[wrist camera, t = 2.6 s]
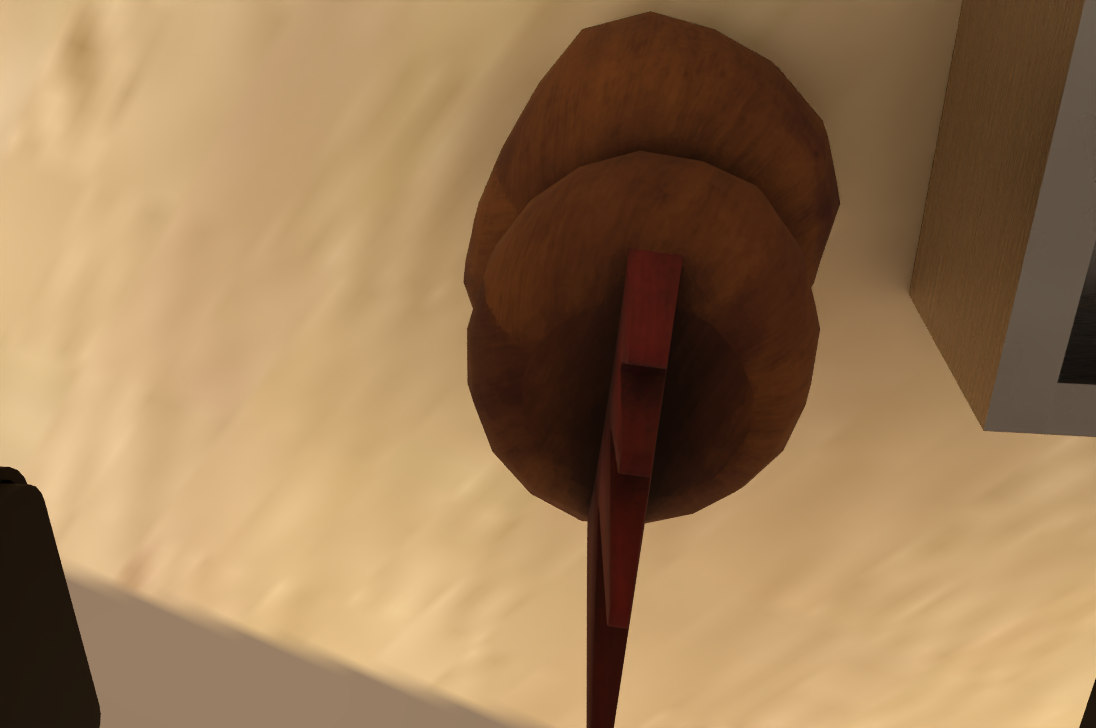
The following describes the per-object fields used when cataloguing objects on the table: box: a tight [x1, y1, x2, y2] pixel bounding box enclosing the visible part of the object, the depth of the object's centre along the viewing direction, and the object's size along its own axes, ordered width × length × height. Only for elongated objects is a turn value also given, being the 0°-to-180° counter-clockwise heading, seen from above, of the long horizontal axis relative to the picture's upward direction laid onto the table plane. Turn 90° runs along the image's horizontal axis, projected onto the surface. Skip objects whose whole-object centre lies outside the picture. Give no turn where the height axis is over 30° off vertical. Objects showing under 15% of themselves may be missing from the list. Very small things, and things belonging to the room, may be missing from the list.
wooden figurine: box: [464, 12, 840, 728], centre depth 15 cm, size 7×6×15 cm
